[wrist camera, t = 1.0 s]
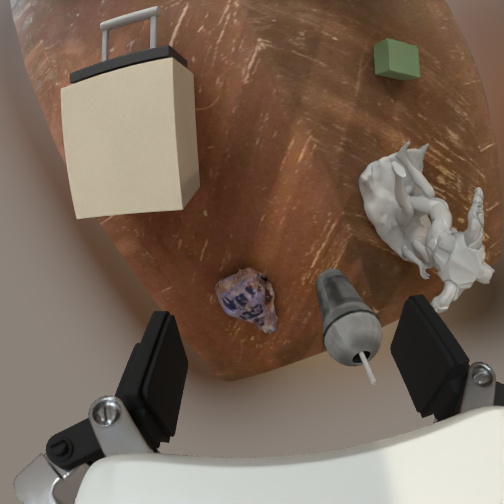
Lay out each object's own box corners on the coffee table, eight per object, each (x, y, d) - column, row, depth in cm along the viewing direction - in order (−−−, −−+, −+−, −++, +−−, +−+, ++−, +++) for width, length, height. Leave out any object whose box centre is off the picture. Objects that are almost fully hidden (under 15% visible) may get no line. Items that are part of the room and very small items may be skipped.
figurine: (445, 235, 37) (515, 297, 21) (383, 272, 40) (438, 354, 24) (416, 131, 30) (513, 153, 14) (341, 168, 33) (414, 215, 17)
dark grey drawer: (104, 35, 23) (72, 22, 16) (186, 15, 23) (170, -10, 16) (110, 176, 32) (79, 191, 25) (192, 166, 32) (176, 179, 25)
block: (372, 45, 25) (387, 37, 21) (401, 52, 25) (418, 46, 21) (374, 75, 27) (390, 70, 23) (403, 80, 27) (420, 78, 23)
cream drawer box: (102, 92, 28) (60, 88, 19) (193, 73, 28) (172, 57, 19) (113, 194, 34) (76, 219, 26) (200, 186, 34) (183, 209, 25)
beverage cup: (311, 306, 42) (339, 416, 24) (302, 267, 39) (335, 380, 21) (355, 294, 41) (402, 396, 24) (350, 254, 38) (411, 355, 20)
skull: (289, 318, 43) (287, 346, 37) (245, 328, 45) (238, 355, 40) (260, 254, 38) (254, 277, 33) (212, 269, 41) (199, 293, 35)
